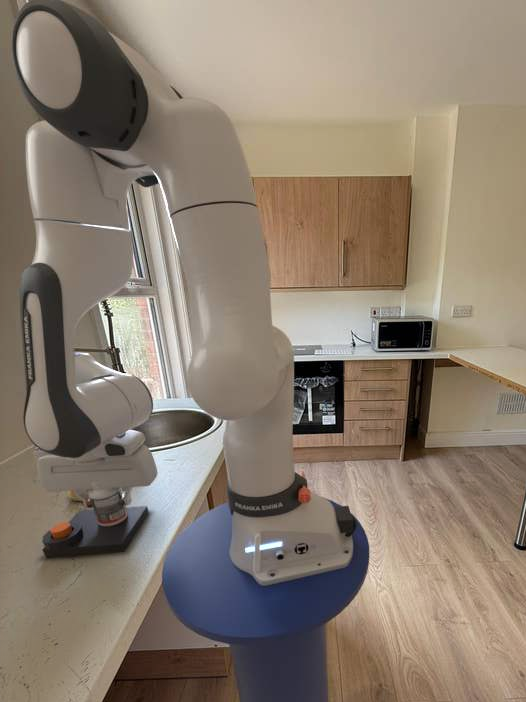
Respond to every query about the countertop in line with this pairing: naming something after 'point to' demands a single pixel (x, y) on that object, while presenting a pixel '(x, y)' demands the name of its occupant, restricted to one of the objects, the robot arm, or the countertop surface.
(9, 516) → the countertop surface
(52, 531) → the button
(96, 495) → the pill bottle
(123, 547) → the scale
